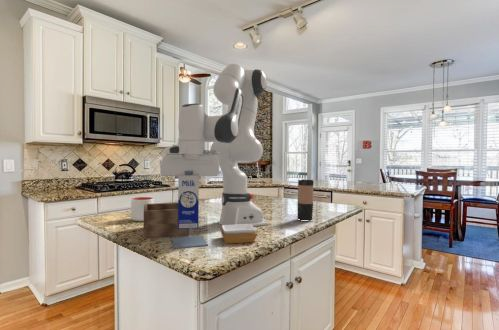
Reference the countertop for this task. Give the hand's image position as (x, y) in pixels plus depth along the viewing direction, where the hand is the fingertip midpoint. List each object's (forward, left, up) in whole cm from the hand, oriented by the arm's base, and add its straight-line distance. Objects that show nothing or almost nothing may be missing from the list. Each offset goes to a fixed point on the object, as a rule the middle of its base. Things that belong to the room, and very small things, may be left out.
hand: (190, 189), depth 99 cm
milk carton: (0, 0, -13) cm, 13 cm away
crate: (+7, -18, -19) cm, 27 cm away
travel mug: (-60, -22, -19) cm, 67 cm away
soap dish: (-18, +2, -19) cm, 26 cm away
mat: (0, 0, -19) cm, 19 cm away
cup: (+16, -43, -19) cm, 50 cm away
